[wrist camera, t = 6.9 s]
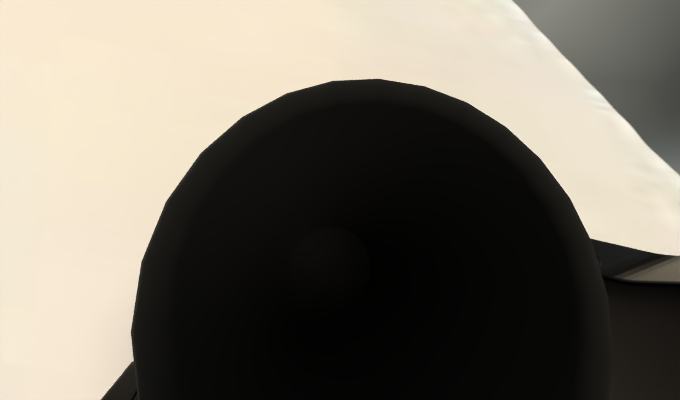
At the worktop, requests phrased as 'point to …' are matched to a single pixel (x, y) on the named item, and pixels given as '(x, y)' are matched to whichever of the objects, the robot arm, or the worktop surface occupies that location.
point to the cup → (370, 261)
